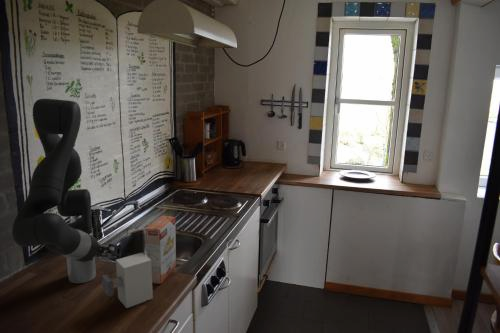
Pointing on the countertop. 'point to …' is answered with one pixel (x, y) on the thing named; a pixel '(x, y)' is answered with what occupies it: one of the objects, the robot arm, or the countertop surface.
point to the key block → (134, 279)
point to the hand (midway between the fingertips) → (105, 256)
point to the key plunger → (110, 284)
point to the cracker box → (161, 247)
